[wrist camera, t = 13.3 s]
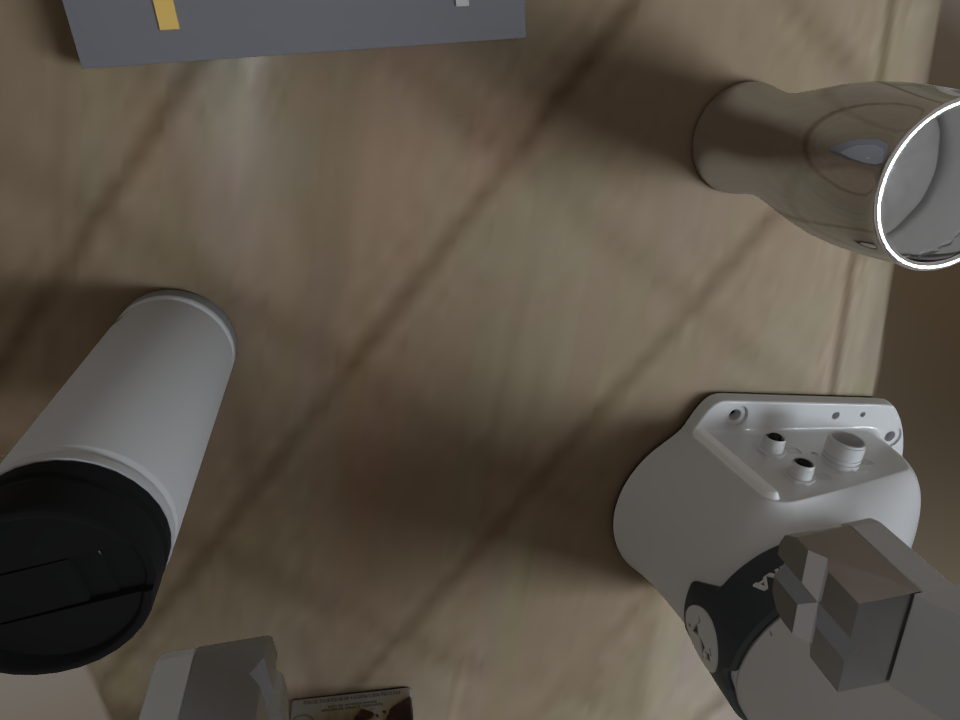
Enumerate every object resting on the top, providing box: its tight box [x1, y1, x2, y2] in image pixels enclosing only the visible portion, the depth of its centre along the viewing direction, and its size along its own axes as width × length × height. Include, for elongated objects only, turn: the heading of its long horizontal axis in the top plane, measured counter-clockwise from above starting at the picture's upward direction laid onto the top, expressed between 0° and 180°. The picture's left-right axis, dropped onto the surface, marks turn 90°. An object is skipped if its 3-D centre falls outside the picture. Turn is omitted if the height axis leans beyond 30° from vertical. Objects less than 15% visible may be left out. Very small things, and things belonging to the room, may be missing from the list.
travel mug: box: [0, 290, 237, 675], centre depth 28 cm, size 6×7×20 cm
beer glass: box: [692, 81, 960, 271], centre depth 32 cm, size 7×7×15 cm
